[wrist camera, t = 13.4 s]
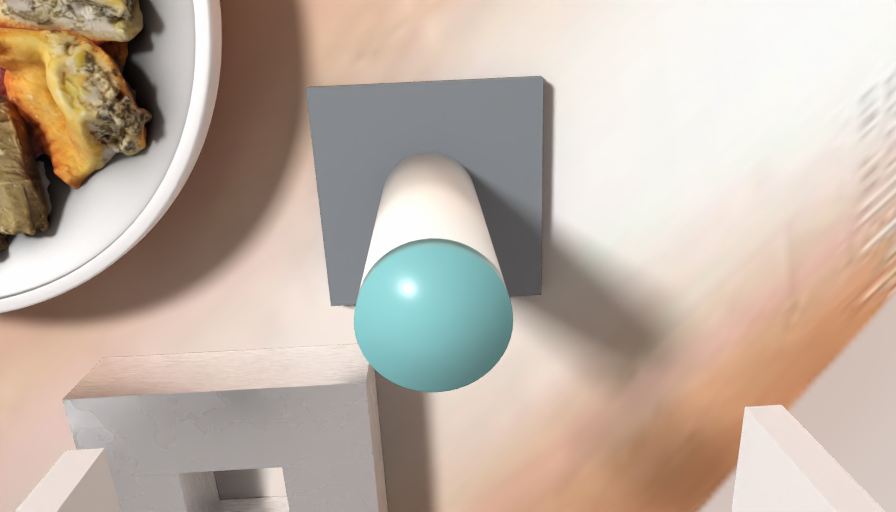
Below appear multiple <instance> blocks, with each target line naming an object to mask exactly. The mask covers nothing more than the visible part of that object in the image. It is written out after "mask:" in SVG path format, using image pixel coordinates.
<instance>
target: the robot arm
mask: <svg viewBox="0 0 896 512" xmlns="http://www.w3.org/2000/svg"><path fill="white" fill-rule="evenodd" d="M15 512H121V509H120V505H119V501H118V497H117V494H116V490H115V486H114V483H113V479H112V475H111V471H110V468H109V464H108V460H107V456H106V453H105V449H104V448H100V449H85V450H69V451H65V452H64V453H63V455H62V456H61V457H60V458H59V459H58V460H57V462H56V463H55V464H54V465H53V466H52V468H51V469H50V470H49V471H48V472H47V474H46V475H45V476H44V477H43V478H42V480H41V481H40V482H39V483H38V484H37V485H36V487H35V488H34V489H33V490H32V491H31V493H30V494H29V495H28V496H27V497H26V499H25V500H24V501H23V502H22V503H21V505H20V506H19V507H18V508H17V509H16V510H15ZM731 512H886V511H885V510H884V509H883V508H882V507H881V506H880V505H879V504H878V503H877V502H876V501H875V500H874V499H873V498H872V497H871V496H870V495H869V494H868V493H867V492H866V491H865V489H864V488H862V486H860V484H859V483H858V482H856V480H855V479H854V478H853V477H852V476H851V475H850V474H849V473H848V472H847V471H846V470H845V469H844V468H843V467H842V466H841V465H840V464H839V463H838V462H837V461H836V460H835V459H834V458H833V457H832V456H831V455H830V454H829V453H828V452H827V451H826V450H825V449H824V448H823V447H822V446H821V445H820V444H819V443H818V442H817V441H816V440H815V439H814V438H813V437H812V436H811V435H810V434H809V432H807V430H806V429H805V428H804V427H803V426H802V425H801V424H800V423H799V422H798V421H797V420H796V419H795V418H794V417H793V416H792V415H791V414H790V413H789V412H788V411H787V410H786V409H785V408H784V407H783V406H782V405H770V406H754V407H745V412H744V419H743V427H742V434H741V442H740V449H739V457H738V464H737V472H736V479H735V487H734V495H733V502H732V509H731Z"/></svg>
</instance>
